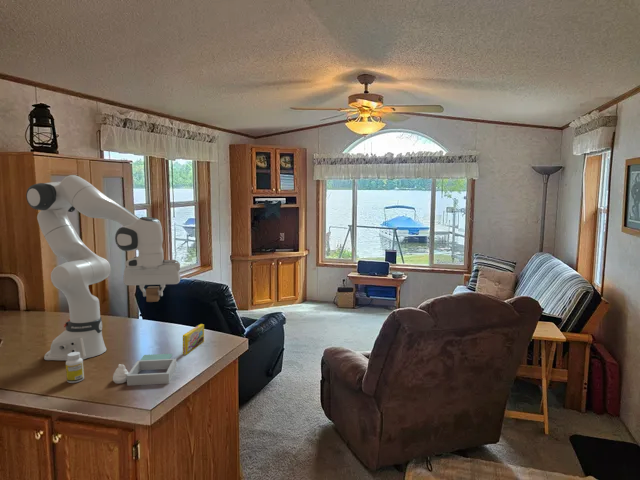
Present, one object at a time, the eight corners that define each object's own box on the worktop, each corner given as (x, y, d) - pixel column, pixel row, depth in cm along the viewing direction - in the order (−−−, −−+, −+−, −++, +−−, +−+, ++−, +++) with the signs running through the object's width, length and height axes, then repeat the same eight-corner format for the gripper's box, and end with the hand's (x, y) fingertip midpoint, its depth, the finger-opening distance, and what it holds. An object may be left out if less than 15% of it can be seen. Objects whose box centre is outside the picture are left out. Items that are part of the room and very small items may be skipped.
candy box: (187, 355, 186) (186, 335, 185) (182, 354, 187) (181, 335, 186) (204, 341, 202) (204, 323, 201) (200, 341, 202) (199, 323, 201)
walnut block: (149, 299, 176) (148, 286, 175) (159, 298, 176) (159, 286, 176) (146, 301, 172) (145, 288, 171) (157, 301, 172) (156, 288, 172)
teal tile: (136, 367, 173) (136, 365, 173) (144, 356, 184) (144, 354, 184) (166, 366, 175) (166, 364, 175) (172, 355, 185) (172, 353, 185)
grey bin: (127, 385, 158) (126, 375, 157) (138, 369, 171) (137, 360, 171) (169, 383, 159) (168, 373, 159) (176, 367, 173) (176, 358, 173)
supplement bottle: (71, 377, 165) (69, 351, 163) (86, 376, 165) (85, 350, 164) (64, 383, 159) (62, 356, 158) (80, 383, 160) (78, 356, 158)
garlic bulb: (131, 361, 164) (125, 367, 158) (132, 377, 164) (125, 384, 159) (116, 361, 164) (109, 367, 158) (117, 377, 164) (110, 384, 159)
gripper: (181, 258, 177) (182, 293, 178) (126, 259, 174) (127, 294, 176) (178, 260, 170) (179, 297, 172) (121, 262, 168) (122, 298, 170)
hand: (153, 296), depth 174 cm, fingers closed on walnut block, 4 cm apart
